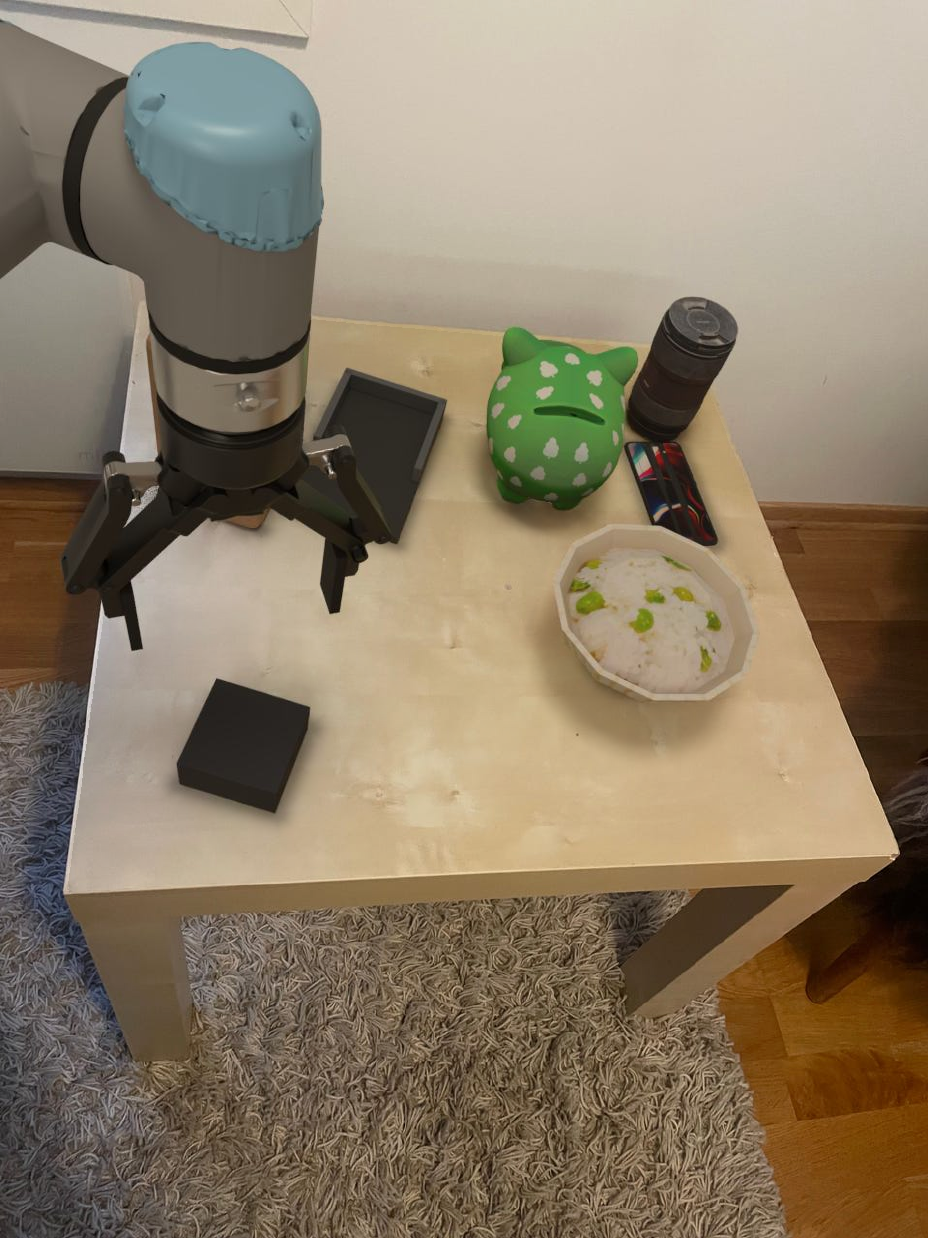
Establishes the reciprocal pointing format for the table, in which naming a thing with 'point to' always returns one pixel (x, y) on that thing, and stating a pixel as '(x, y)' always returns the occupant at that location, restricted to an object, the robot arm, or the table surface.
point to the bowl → (654, 614)
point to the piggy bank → (556, 418)
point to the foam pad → (243, 745)
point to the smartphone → (670, 490)
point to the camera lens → (680, 367)
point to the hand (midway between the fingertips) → (235, 615)
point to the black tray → (381, 441)
